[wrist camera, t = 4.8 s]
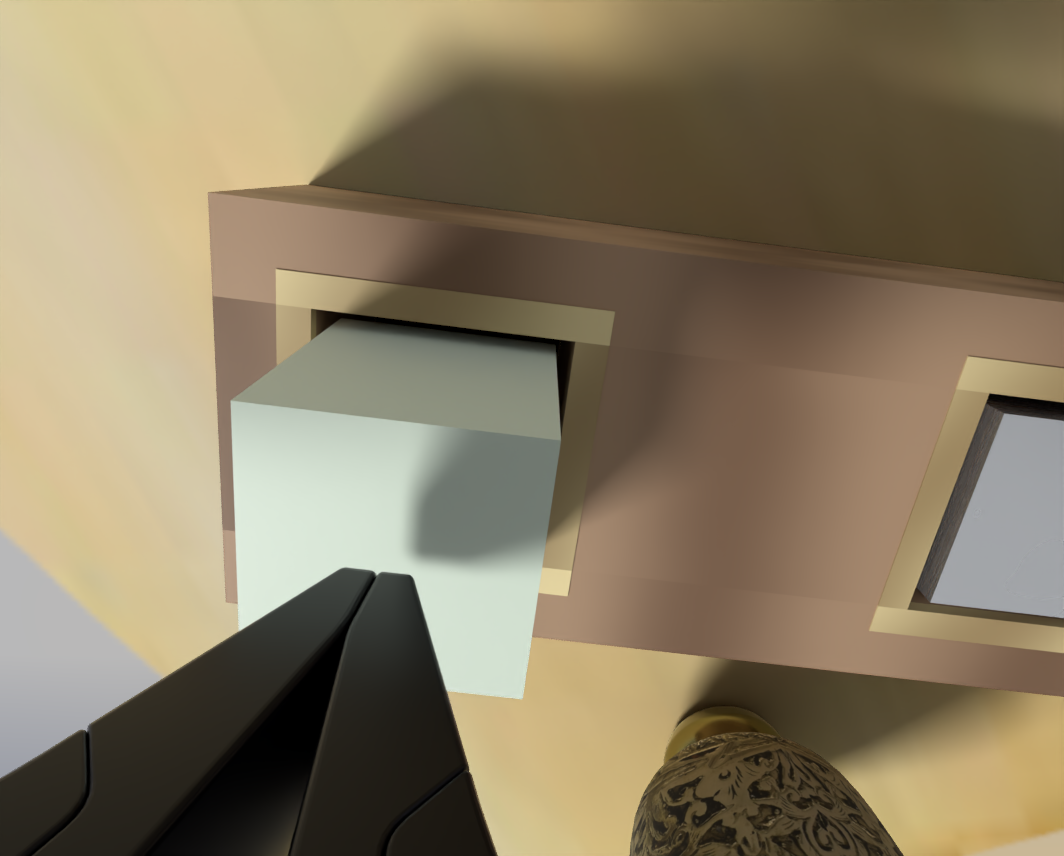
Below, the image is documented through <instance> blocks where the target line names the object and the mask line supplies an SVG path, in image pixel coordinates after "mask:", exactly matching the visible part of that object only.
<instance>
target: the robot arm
mask: <svg viewBox="0 0 1064 856" xmlns="http://www.w3.org/2000/svg"><path fill="white" fill-rule="evenodd" d="M0 856H498V855H497V852H496V850H495V847H494V844H493V841H492V838H491V835H490V832H489V829H488V826H487V823H486V820H485V817H484V814H483V811H482V808H481V805H480V802H479V798H478V795H477V792H476V788H475V785H474V781H473V778H472V775H471V773H470V772H469V766H468V762H467V759H466V755H465V752H464V749H463V745H462V742H461V738H460V735H459V731H458V728H457V725H456V721H455V718H454V714H453V711H452V707H451V704H450V701H449V697H448V694H447V690H446V687H445V683H444V680H443V677H442V673H441V670H440V666H439V663H438V659H437V656H436V653H435V649H434V646H433V642H432V639H431V635H430V632H429V629H428V625H427V622H426V618H425V615H424V611H423V608H422V605H421V601H420V598H419V594H418V591H417V587H416V584H415V581H414V578H413V577H412V576H411V575H409V574H400V573H391V572H380V573H379V574H378V575H376V573H375V572H374V571H372V570H365V569H356V568H348V567H344V568H341V569H339V570H337V571H335V572H334V573H332V574H330V575H329V576H327V577H326V578H324V579H322V580H321V581H319V582H318V583H316V584H314V585H313V586H311V587H310V588H308V589H306V590H305V591H303V592H301V593H300V594H298V595H297V596H295V597H293V598H292V599H290V600H289V601H287V602H285V603H284V604H282V605H281V606H279V607H277V608H276V609H274V610H272V611H271V612H269V613H268V614H266V615H264V616H263V617H261V618H260V619H258V620H256V621H255V622H253V623H252V624H250V625H248V626H247V627H245V628H244V629H242V630H240V631H239V632H237V633H235V634H234V635H232V636H231V637H229V638H227V639H226V640H224V641H223V642H221V643H219V644H218V645H216V646H215V647H213V648H211V649H210V650H208V651H206V652H205V653H203V654H202V655H200V656H198V657H197V658H195V659H194V660H192V661H190V662H189V663H187V664H186V665H184V666H182V667H181V668H179V669H178V670H176V671H174V672H173V673H171V674H169V675H168V676H166V677H165V678H163V679H161V680H160V681H158V682H157V683H155V684H153V685H152V686H150V687H149V688H147V689H145V690H144V691H142V692H140V693H139V694H137V695H136V696H134V697H133V698H131V699H129V700H128V701H126V702H124V703H123V704H121V705H120V706H118V707H116V708H115V709H113V710H112V711H110V712H108V713H107V714H105V715H103V716H102V717H100V718H99V719H97V720H95V721H94V722H92V723H91V724H89V726H88V728H87V732H86V731H85V730H79V731H77V732H76V733H74V734H72V735H71V736H69V737H67V738H66V739H65V740H63V741H61V742H60V743H58V744H56V745H55V746H53V747H51V748H50V749H48V750H47V751H45V752H43V753H42V754H40V755H39V756H37V757H35V758H33V759H32V760H30V761H28V762H27V763H25V764H24V765H22V766H20V767H18V768H17V769H15V770H13V771H12V772H10V773H8V774H7V775H5V776H3V777H1V778H0Z"/></svg>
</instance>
